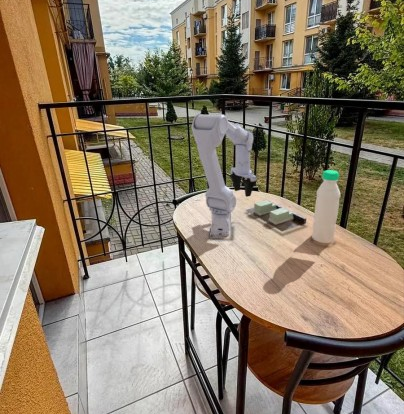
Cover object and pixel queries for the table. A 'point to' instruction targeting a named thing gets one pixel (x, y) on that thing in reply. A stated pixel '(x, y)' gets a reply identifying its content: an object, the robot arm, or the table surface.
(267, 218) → the dark grey tray
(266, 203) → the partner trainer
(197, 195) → the table surface
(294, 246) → the table surface
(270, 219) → the pale green block
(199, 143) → the robot arm
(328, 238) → the water bottle
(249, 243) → the table surface
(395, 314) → the table surface
